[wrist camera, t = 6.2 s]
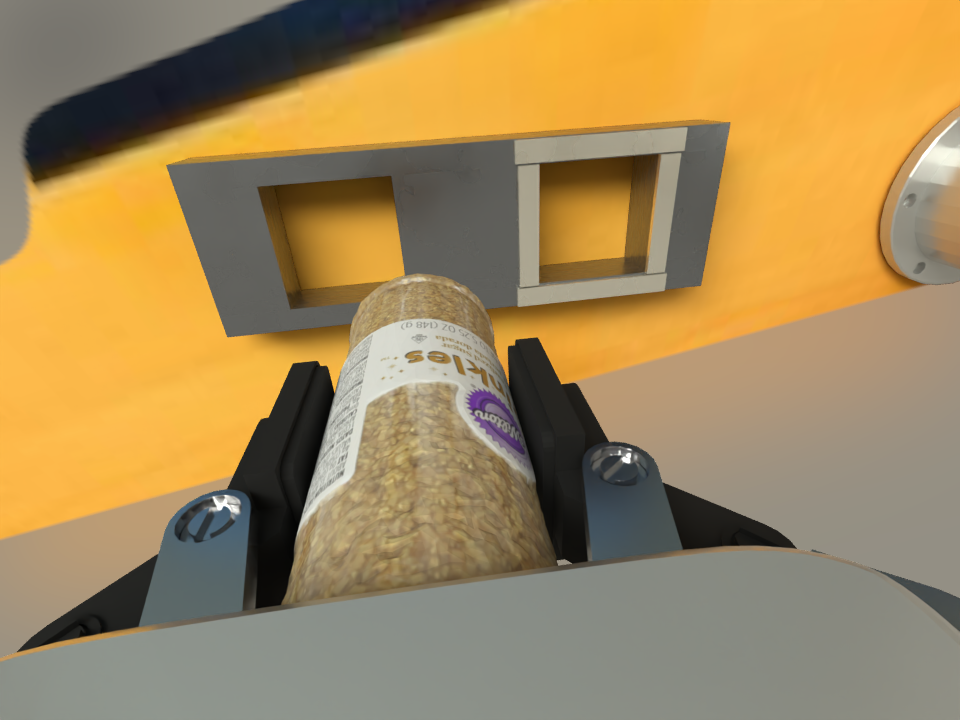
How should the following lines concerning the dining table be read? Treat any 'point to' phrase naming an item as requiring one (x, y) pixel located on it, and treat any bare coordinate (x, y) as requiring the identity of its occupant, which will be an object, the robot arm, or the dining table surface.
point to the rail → (455, 218)
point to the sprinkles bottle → (419, 454)
